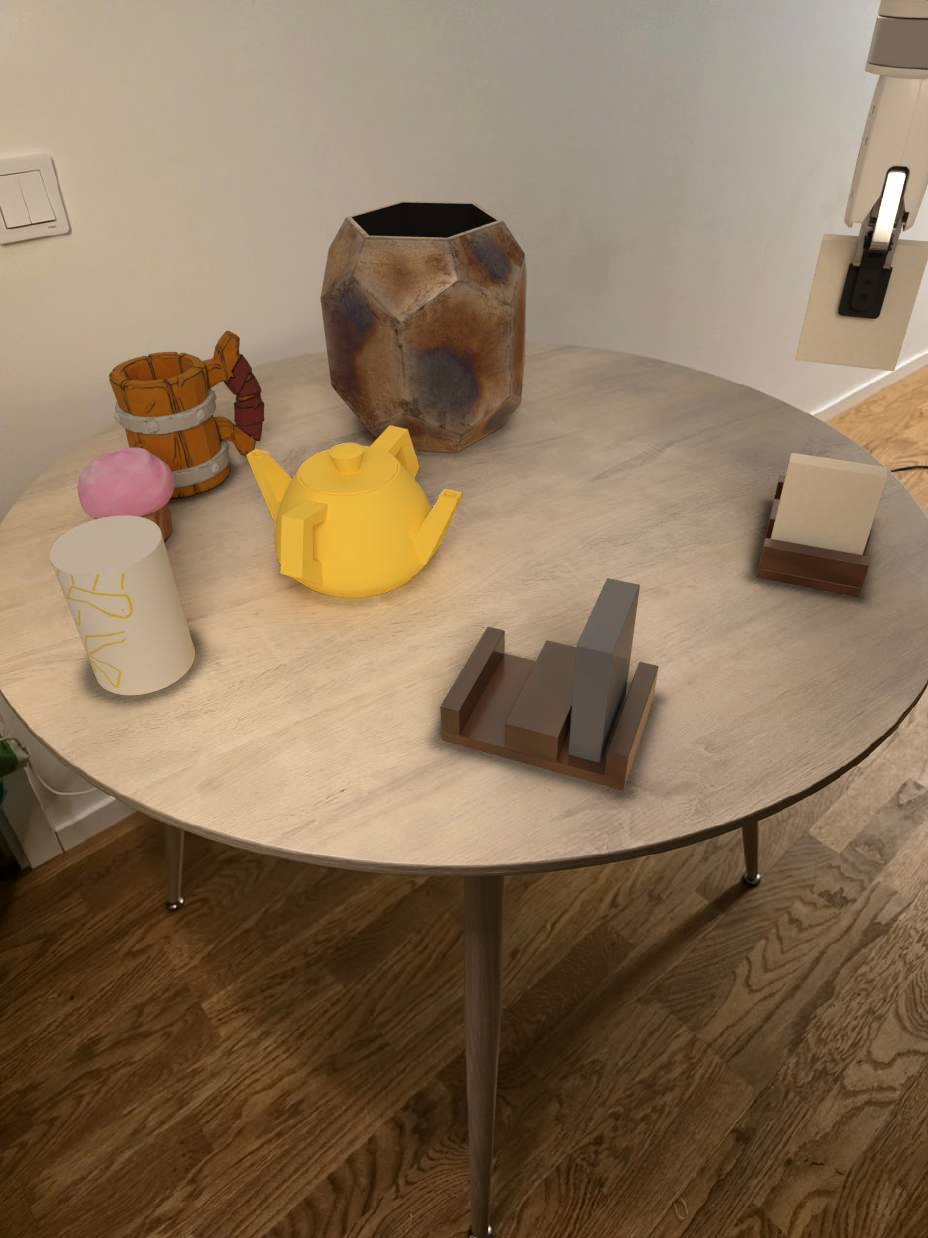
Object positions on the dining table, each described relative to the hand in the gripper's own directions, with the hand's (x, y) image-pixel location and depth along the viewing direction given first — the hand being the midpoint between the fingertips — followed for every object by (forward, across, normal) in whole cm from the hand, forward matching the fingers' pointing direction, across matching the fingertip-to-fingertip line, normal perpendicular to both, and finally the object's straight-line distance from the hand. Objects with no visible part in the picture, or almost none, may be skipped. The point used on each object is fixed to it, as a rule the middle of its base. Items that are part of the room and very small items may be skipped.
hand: (858, 309), depth 72 cm
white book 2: (+22, +5, +1) cm, 22 cm away
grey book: (+21, +33, -12) cm, 41 cm away
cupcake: (+23, +23, -62) cm, 70 cm away
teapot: (+23, +18, -40) cm, 49 cm away
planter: (+23, -12, -45) cm, 51 cm away
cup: (+23, +38, -50) cm, 67 cm away
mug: (+23, +8, -65) cm, 69 cm away
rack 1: (+22, +33, -16) cm, 43 cm away
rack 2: (+23, +2, +1) cm, 23 cm away
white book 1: (+5, 0, 0) cm, 5 cm away
